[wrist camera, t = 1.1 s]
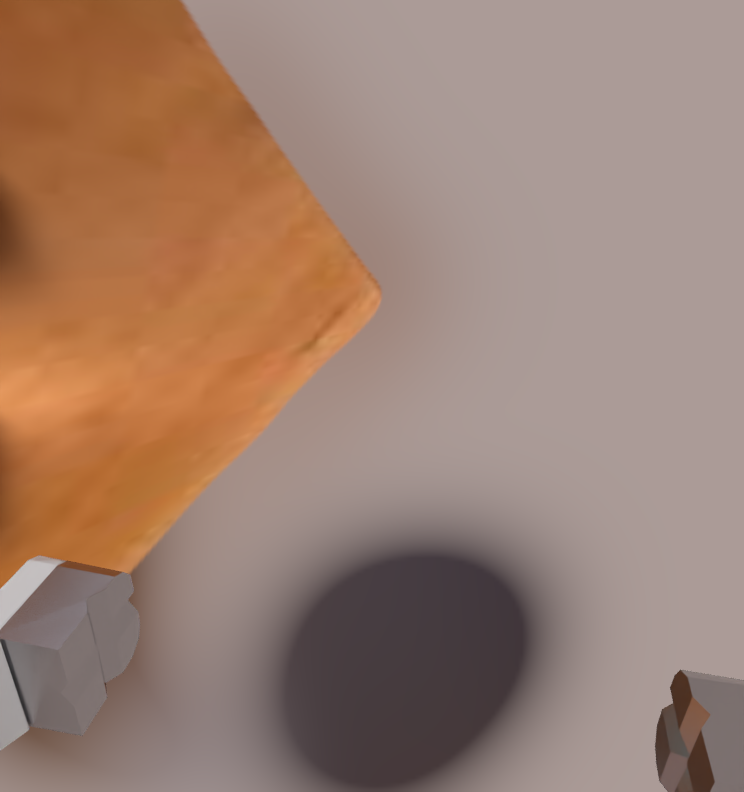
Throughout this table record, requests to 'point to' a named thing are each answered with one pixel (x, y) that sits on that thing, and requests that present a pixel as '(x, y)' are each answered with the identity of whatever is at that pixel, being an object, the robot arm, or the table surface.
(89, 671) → the robot arm
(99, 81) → the table surface
